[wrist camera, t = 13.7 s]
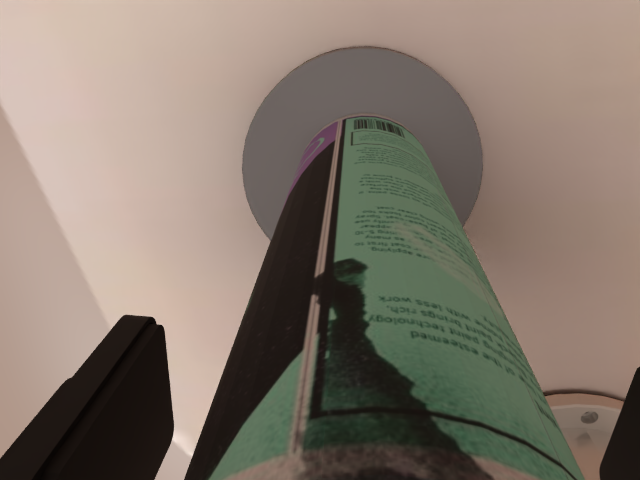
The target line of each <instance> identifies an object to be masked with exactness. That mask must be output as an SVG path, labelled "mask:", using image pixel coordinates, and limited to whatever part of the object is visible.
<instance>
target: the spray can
mask: <svg viewBox="0 0 640 480" xmlns="http://www.w3.org/2000/svg"><path fill="white" fill-rule="evenodd" d="M184 480H585V478H584V476H583V474H582V472H581V470H580V468H579V466H578V464H577V462H576V460H575V458H574V456H573V454H572V452H571V450H570V448H569V446H568V444H567V441H566V439H565V437H564V435H563V433H562V431H561V429H560V427H559V425H558V423H557V421H556V419H555V417H554V415H553V413H552V411H551V409H550V406H549V404H548V402H547V400H546V398H545V396H544V394H543V392H542V390H541V388H540V386H539V384H538V382H537V380H536V378H535V376H534V374H533V371H532V369H531V367H530V365H529V363H528V361H527V359H526V357H525V355H524V353H523V351H522V349H521V347H520V345H519V343H518V341H517V339H516V337H515V334H514V332H513V330H512V328H511V326H510V324H509V322H508V320H507V318H506V316H505V314H504V312H503V310H502V308H501V306H500V304H499V302H498V299H497V297H496V295H495V293H494V291H493V289H492V287H491V285H490V283H489V281H488V279H487V277H486V275H485V273H484V271H483V269H482V267H481V264H480V262H479V260H478V258H477V256H476V254H475V252H474V250H473V248H472V246H471V244H470V242H469V240H468V238H467V236H466V234H465V232H464V230H463V227H462V225H461V223H460V221H459V219H458V217H457V215H456V213H455V211H454V209H453V207H452V205H451V203H450V201H449V199H448V197H447V195H446V192H445V190H444V188H443V186H442V184H441V182H440V180H439V178H438V176H437V174H436V172H435V170H434V168H433V166H432V164H431V162H430V160H429V157H428V155H427V153H426V152H425V150H424V148H423V146H422V144H421V142H420V141H419V140H418V139H417V138H416V136H415V135H414V134H413V133H412V132H411V131H410V130H409V129H408V128H407V127H405V126H404V125H403V124H401V123H400V122H398V121H396V120H394V119H392V118H390V117H388V116H384V115H380V114H376V113H356V114H350V115H346V116H343V117H341V118H338V119H335V120H334V121H332V122H330V123H329V124H327V125H326V126H324V127H323V128H322V129H321V130H320V131H319V132H318V133H316V134H315V135H314V137H313V138H312V140H311V141H310V142H309V144H308V145H307V147H306V148H305V151H304V153H303V155H302V157H301V160H300V162H299V165H298V168H297V171H296V173H295V176H294V179H293V182H292V184H291V187H290V190H289V193H288V195H287V198H286V201H285V204H284V206H283V209H282V212H281V215H280V217H279V220H278V223H277V226H276V228H275V231H274V234H273V237H272V239H271V242H270V245H269V248H268V250H267V253H266V256H265V259H264V261H263V264H262V267H261V270H260V272H259V275H258V278H257V281H256V283H255V286H254V289H253V292H252V294H251V297H250V300H249V303H248V305H247V308H246V311H245V314H244V316H243V319H242V322H241V325H240V327H239V330H238V333H237V336H236V338H235V341H234V344H233V347H232V349H231V352H230V355H229V358H228V360H227V363H226V366H225V369H224V371H223V374H222V377H221V380H220V382H219V385H218V388H217V391H216V393H215V396H214V399H213V402H212V404H211V407H210V410H209V413H208V415H207V418H206V421H205V424H204V426H203V429H202V432H201V435H200V437H199V440H198V443H197V446H196V448H195V451H194V454H193V457H192V459H191V462H190V465H189V468H188V470H187V473H186V476H185V479H184Z"/></svg>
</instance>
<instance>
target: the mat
mask: <svg viewBox="0 0 640 480" xmlns="http://www.w3.org/2000/svg"><path fill="white" fill-rule="evenodd" d="M356 113H376V114H380V115H384V116H388V117H390V118H392V119H394V120H396V121H398V122H400V123H401V124H403V125H404V126H405V127H407V128H408V129H409V130H410V131H411V132H412V133H413V134H414V135H415V136H416V138H417V139H418V140H419V141H420V142H421V144H422V146H423V148H424V150H425V152H426V153H427V155H428V157H429V160H430V162H431V164H432V166H433V168H434V170H435V172H436V174H437V176H438V178H439V180H440V182H441V184H442V186H443V188H444V190H445V192H446V195H447V197H448V199H449V201H450V203H451V205H452V207H453V209H454V211H455V213H456V215H457V217H458V219H459V221H460V223H461V225H462V227H463V226H464V224H465V222H466V221H467V219H468V217H469V215H470V214H471V212H472V209H473V207H474V204H475V202H476V199H477V196H478V192H479V189H480V185H481V177H482V169H483V164H482V148H481V142H480V137H479V133H478V130H477V127H476V124H475V121H474V119H473V117H472V115H471V113H470V111H469V109H468V107H467V105H466V104H465V102H464V101H463V100H462V98H461V97H460V95H459V94H458V93H457V92H456V90H455V89H454V88H453V87H452V86H451V85H450V84H449V83H448V82H447V81H446V80H445V79H444V78H442V77H441V76H440V75H439V74H437V73H436V72H435V71H434V70H433V69H431V68H430V67H429V66H427V65H425V64H424V63H422V62H420V61H419V60H417V59H415V58H413V57H410V56H408V55H406V54H403V53H401V52H397V51H394V50H390V49H386V48H378V47H370V46H368V47H349V48H343V49H337V50H334V51H330V52H327V53H324V54H321V55H319V56H317V57H315V58H312V59H310V60H308V61H306V62H305V63H303V64H302V65H300V66H299V67H297V68H295V69H294V70H293V71H292V72H290V73H289V74H288V75H287V76H286V77H285V78H283V79H282V80H281V81H280V82H279V83H278V84H277V86H276V87H275V88H274V89H273V90H272V91H271V92H270V93H269V95H268V96H267V97H266V98H265V100H264V101H263V103H262V104H261V106H260V107H259V109H258V110H257V112H256V114H255V116H254V118H253V120H252V122H251V125H250V128H249V131H248V134H247V137H246V140H245V146H244V151H243V164H242V172H243V183H244V188H245V192H246V197H247V200H248V203H249V205H250V208H251V211H252V213H253V215H254V217H255V219H256V221H257V222H258V224H259V226H260V227H261V229H262V230H263V232H264V233H265V234H266V236H267V237H268V238H269V239H270V240H271V239H272V237H273V234H274V231H275V228H276V226H277V223H278V220H279V217H280V215H281V212H282V209H283V206H284V204H285V201H286V198H287V195H288V193H289V190H290V187H291V184H292V182H293V179H294V176H295V173H296V171H297V168H298V165H299V162H300V160H301V157H302V155H303V153H304V151H305V148H306V147H307V145H308V144H309V142H310V141H311V140H312V138H313V137H314V135H315V134H316V133H318V132H319V131H320V130H321V129H322V128H323V127H324V126H326V125H327V124H329V123H330V122H332V121H334V120H335V119H338V118H341V117H343V116H346V115H350V114H356Z"/></svg>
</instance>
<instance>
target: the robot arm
mask: <svg viewBox="0 0 640 480" xmlns="http://www.w3.org/2000/svg"><path fill="white" fill-rule="evenodd" d="M545 398H546V400H547V402H548V404H549V406H550V409H551V411H552V413H553V415H554V417H555V419H556V421H557V423H558V425H559V427H560V429H561V431H562V433H563V435H564V437H565V439H566V441H567V444H568V446H569V448H570V450H571V452H572V454H573V456H574V458H575V460H576V462H577V464H578V466H579V468H580V470H581V472H582V474H583V476H584V478H585V480H640V367H639V368H637V370H636V372H635V375H634V377H633V380H632V383H631V385H630V388H629V391H628V393H627V396H626V398H625V401H624V402H623V401H619V400H616V399H612V398H609V397H605V396H599V395H590V394H581V393H579V394H555V395H550V396H545ZM173 432H174V420H173V411H172V401H171V391H170V381H169V371H168V361H167V351H166V341H165V331H164V328H163V326H162V325H157V324H156V321H155V319H154V318H153V317H146V316H134V315H124V316H123V317H121V318H120V320H119V321H118V322H117V323H116V324H115V326H114V327H113V328H112V329H111V331H110V332H109V333H108V334H107V336H106V337H105V338H104V339H103V340H102V342H101V343H100V344H99V345H98V346H97V348H96V349H95V350H94V351H93V353H92V354H91V355H90V356H89V357H88V359H87V360H86V361H85V362H84V363H83V365H82V366H81V367H80V368H79V370H78V371H77V372H76V373H75V375H74V376H73V377H72V378H69V379H67V380H66V381H65V382H64V383H63V384H62V385H61V386H60V387H59V389H58V390H57V391H56V392H55V393H54V395H53V396H52V397H51V398H50V399H49V401H48V402H47V403H46V404H45V405H44V407H43V408H42V409H41V410H40V412H39V413H38V414H37V415H36V416H35V417H34V419H33V420H32V421H31V422H30V423H29V425H28V426H27V427H26V428H25V430H24V431H23V432H22V433H21V434H20V436H19V437H18V438H17V439H16V440H15V442H14V443H13V444H12V445H11V447H10V448H9V449H8V450H7V451H6V452H5V454H4V455H3V456H2V457H1V459H0V480H154V479H155V477H156V474H157V472H158V470H159V468H160V466H161V464H162V461H163V459H164V457H165V455H166V453H167V450H168V448H169V446H170V444H171V441H172V437H173Z"/></svg>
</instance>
